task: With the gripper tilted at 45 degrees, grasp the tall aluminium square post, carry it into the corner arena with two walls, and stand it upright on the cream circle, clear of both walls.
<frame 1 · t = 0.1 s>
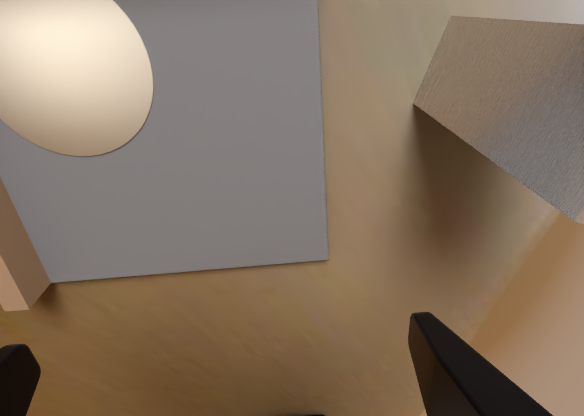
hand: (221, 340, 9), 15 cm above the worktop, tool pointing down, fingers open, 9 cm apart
corner arena: (140, 121, 21), on the worktop
aluminium post: (469, 74, 20), on the worktop
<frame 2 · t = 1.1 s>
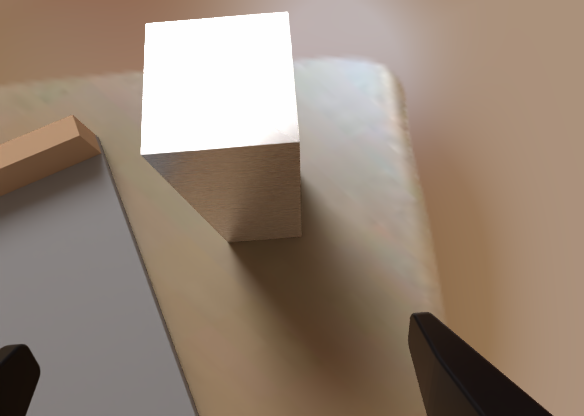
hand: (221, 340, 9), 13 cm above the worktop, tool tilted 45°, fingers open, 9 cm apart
aluminium post: (262, 204, 24), on the worktop
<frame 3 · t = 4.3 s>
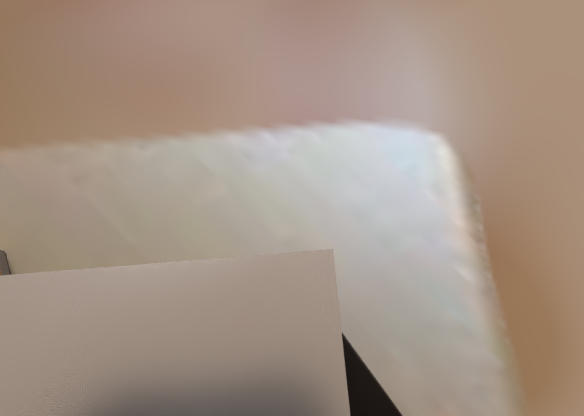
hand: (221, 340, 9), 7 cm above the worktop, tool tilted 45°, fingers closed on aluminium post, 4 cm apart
aluminium post: (257, 369, 15), on the worktop, touching gripper
when the fingers open (8 cm above the worktop, at t = 8.7 s): aluminium post drops 1 cm, resting on corner arena.
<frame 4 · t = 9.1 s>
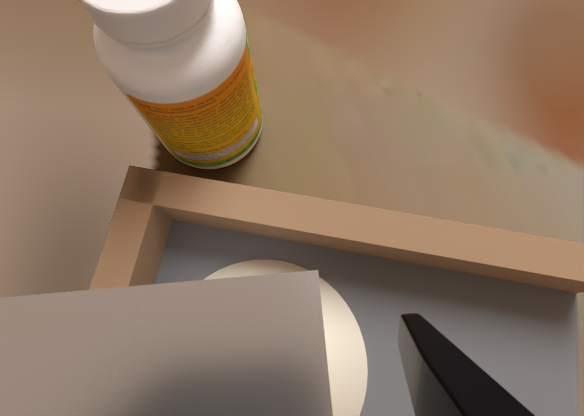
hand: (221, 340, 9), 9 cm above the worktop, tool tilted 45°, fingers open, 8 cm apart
supplement bottle: (214, 126, 20), on the worktop
aluminium post: (259, 364, 16), point 1 cm above the worktop, touching corner arena
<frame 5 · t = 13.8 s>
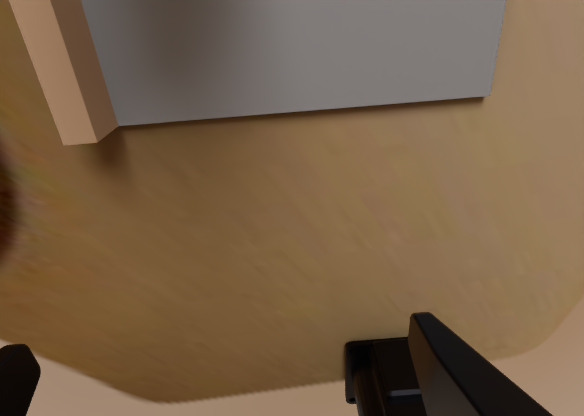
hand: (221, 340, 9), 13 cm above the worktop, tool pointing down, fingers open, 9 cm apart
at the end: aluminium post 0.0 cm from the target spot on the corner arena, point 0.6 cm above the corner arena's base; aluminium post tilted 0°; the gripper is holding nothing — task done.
